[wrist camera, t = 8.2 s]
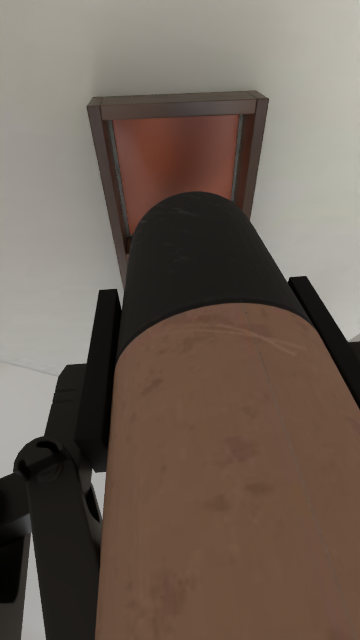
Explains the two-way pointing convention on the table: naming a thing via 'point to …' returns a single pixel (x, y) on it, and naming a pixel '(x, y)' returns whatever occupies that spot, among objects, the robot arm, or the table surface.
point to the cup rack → (174, 151)
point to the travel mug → (225, 446)
